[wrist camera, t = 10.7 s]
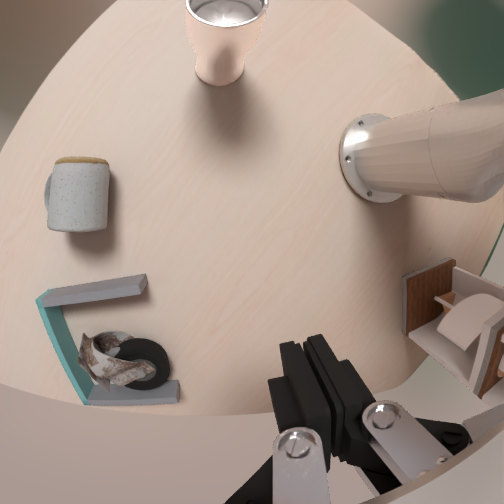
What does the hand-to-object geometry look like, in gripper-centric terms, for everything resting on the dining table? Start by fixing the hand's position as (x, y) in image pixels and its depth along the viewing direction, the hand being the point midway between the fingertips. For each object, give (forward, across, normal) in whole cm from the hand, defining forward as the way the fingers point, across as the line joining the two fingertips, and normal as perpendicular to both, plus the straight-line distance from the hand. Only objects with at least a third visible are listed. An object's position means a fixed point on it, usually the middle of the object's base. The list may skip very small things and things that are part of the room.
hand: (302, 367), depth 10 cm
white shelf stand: (+26, -29, +16) cm, 42 cm away
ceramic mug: (+25, +20, -10) cm, 33 cm away
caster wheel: (+25, +19, +13) cm, 34 cm away
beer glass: (+26, 0, -22) cm, 34 cm away
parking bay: (+24, +22, +11) cm, 34 cm away
